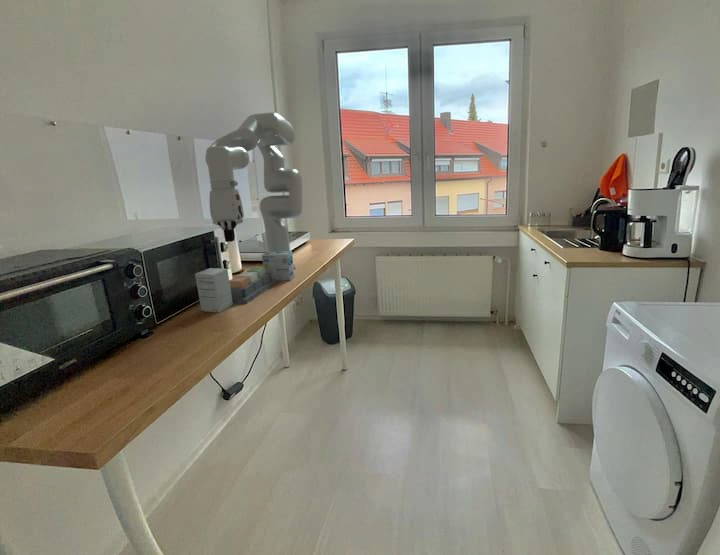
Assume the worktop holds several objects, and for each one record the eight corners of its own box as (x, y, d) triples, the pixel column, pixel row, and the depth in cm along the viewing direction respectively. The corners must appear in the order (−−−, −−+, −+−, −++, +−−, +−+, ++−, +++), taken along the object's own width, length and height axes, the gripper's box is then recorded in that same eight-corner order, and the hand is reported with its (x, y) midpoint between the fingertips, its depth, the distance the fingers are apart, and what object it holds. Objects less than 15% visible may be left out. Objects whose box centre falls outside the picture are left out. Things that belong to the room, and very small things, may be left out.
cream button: (245, 282, 157) (244, 272, 156) (258, 282, 155) (257, 272, 154) (239, 286, 152) (237, 275, 151) (252, 286, 151) (250, 275, 150)
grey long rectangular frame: (252, 282, 167) (251, 271, 166) (276, 283, 165) (274, 271, 163) (220, 303, 144) (218, 290, 143) (246, 303, 142) (245, 290, 141)
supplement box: (215, 303, 144) (209, 267, 141) (233, 305, 141) (228, 268, 138) (200, 311, 137) (194, 273, 134) (219, 312, 135) (213, 274, 131)
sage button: (254, 277, 163) (253, 267, 162) (266, 277, 162) (265, 267, 161) (248, 281, 158) (246, 270, 157) (260, 281, 157) (259, 270, 156)
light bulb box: (295, 276, 173) (292, 250, 170) (291, 280, 167) (288, 253, 164) (269, 277, 174) (266, 251, 171) (264, 281, 168) (261, 255, 165)
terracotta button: (236, 288, 150) (235, 277, 149) (249, 288, 149) (248, 277, 148) (229, 292, 146) (227, 281, 145) (242, 292, 144) (241, 281, 143)
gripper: (249, 184, 141) (255, 239, 145) (209, 186, 145) (217, 239, 149) (237, 185, 134) (244, 242, 138) (196, 187, 138) (204, 243, 142)
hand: (230, 241), depth 144 cm, fingers closed
